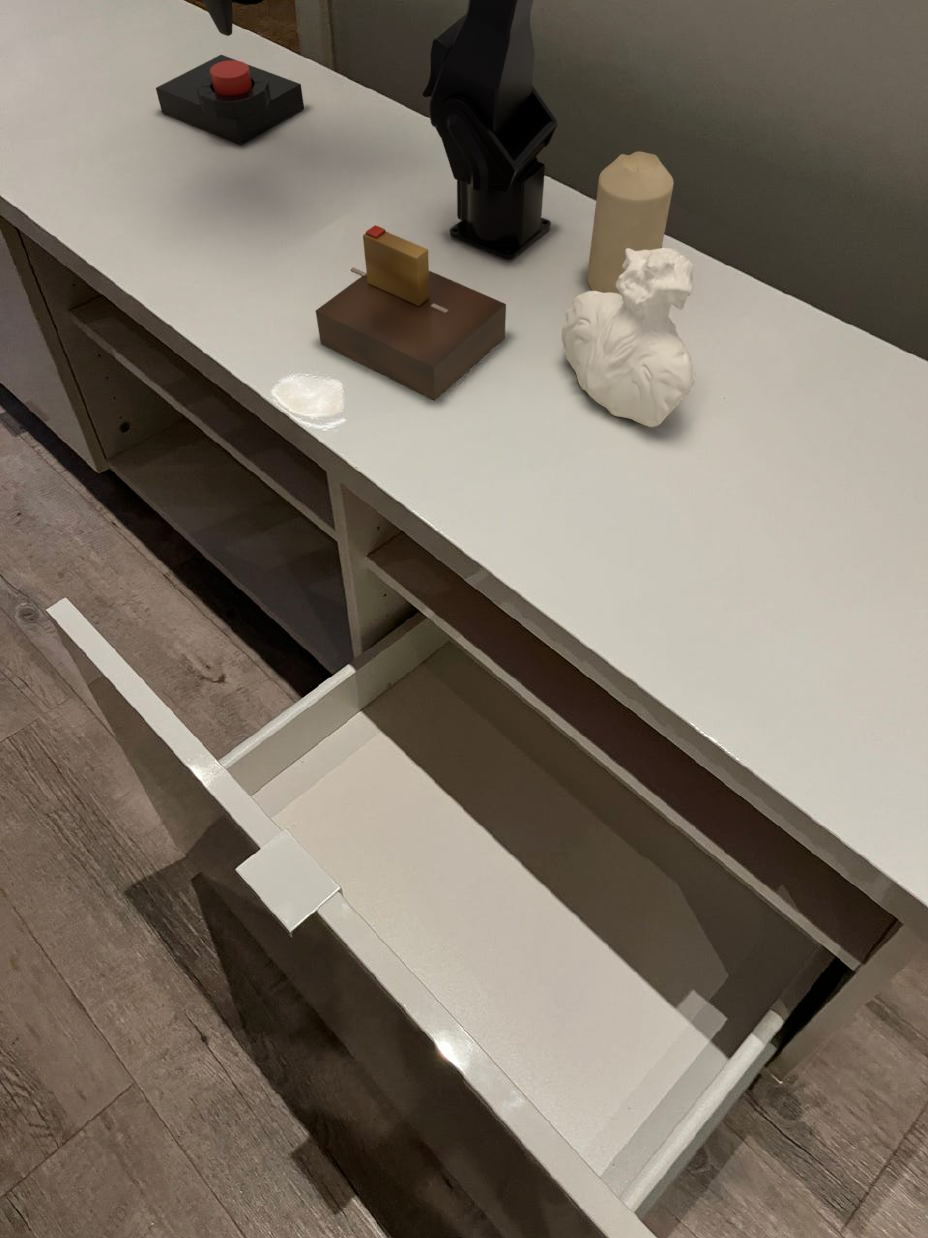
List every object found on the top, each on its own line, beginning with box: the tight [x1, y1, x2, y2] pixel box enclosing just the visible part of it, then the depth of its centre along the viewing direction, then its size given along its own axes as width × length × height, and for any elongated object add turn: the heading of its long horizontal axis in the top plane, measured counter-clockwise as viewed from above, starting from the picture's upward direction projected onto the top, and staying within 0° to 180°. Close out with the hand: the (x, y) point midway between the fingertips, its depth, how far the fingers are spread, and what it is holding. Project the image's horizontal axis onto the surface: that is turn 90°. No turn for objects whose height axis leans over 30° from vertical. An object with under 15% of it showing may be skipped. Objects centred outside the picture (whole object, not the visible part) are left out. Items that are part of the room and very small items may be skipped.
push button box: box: [155, 54, 305, 146], centre depth 90 cm, size 12×10×4 cm
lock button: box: [210, 59, 252, 96], centre depth 87 cm, size 4×4×2 cm
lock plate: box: [315, 266, 507, 401], centre depth 70 cm, size 12×9×3 cm
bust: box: [561, 247, 697, 428], centre depth 64 cm, size 12×8×11 cm
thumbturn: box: [362, 224, 430, 306], centre depth 68 cm, size 5×1×4 cm, turn 54°
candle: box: [587, 151, 675, 296], centre depth 71 cm, size 6×6×10 cm
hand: (267, 13), depth 74 cm, fingers open, 9 cm apart
